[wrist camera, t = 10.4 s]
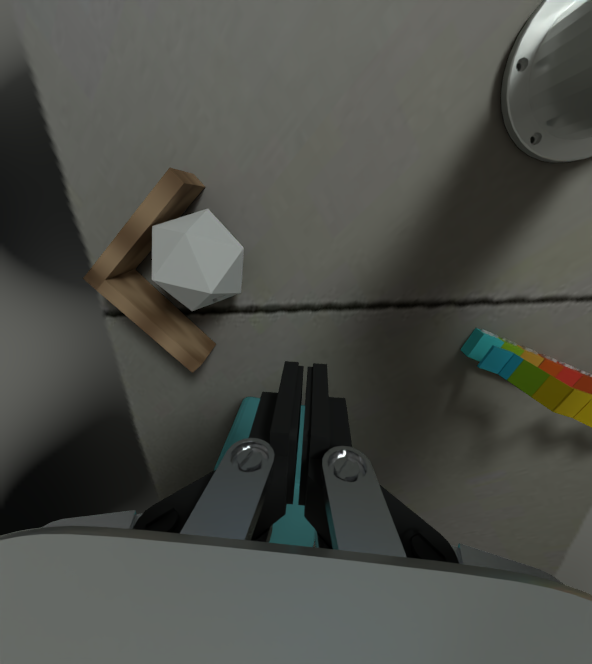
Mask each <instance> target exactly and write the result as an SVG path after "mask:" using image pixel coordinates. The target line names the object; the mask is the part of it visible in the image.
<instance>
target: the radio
mask: <svg viewBox="0 0 592 664" xmlns="http://www.w3.org/2000/svg"><path fill="white" fill-rule="evenodd" d="M259 401H260V398H255V397H246V398H245V399H243V401H242V404H241V406H240V408H239V411H238V413H237V416H236V418H235V420H234V423H233V425H232V428H231V430H230V432H229V435H228V437H227V439H226V442H225V444H224V447H223V449H222V451H221V454H220V456H219V459H218V461H217V463H216V466H215V468H214V470H216V469H217V467H218V466H219V464H220V462H221V460H222V459H223V457H224V455H225V454H226V452H227V450H228V449H229V448H230V447H231V445H233V444H234V443H236V442H237V441H240V440H242V439H246V438H249V435H250V431H251V428H252V425H253V421H254V418H255V415H256V411H257V408H258V405H259ZM304 414H305V406H304V405H301V415H300V429H299V440H298V452H297V463H296V475H295V486H294V498H293V505H292V504H287V505H286V515H284V516H283V517H282V518H280V519H279V520H278V521H277V522H275V523H274V524H273V530H272V534H271V538H270V541H269V543H277V544H287V545H296V546H306V547H313V544H314V541H315V537H314V535H315V529H314V527H313V526H312V525H311V524H310V523H309V522H308V521H307V519H306V518H305V517H304V507H305V506H302V505H298V501H299V486H300V472H301V457H302V443H303V428H304Z"/></svg>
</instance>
